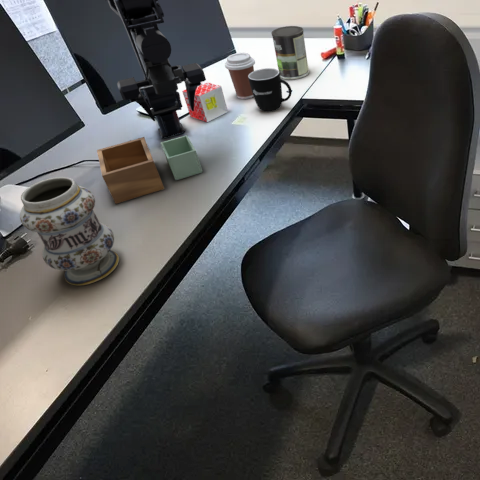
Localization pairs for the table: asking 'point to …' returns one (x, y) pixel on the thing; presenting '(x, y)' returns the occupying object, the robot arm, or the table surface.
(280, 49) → the coffee can
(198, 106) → the red and white cube
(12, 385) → the table surface
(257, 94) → the mug
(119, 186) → the crate
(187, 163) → the bin
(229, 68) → the coffee cup
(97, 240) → the apothecary jar
